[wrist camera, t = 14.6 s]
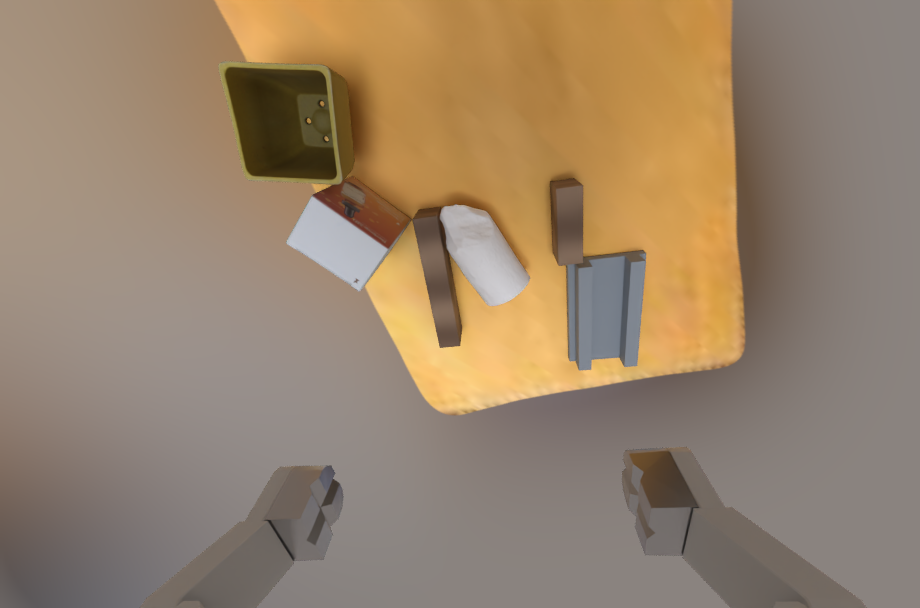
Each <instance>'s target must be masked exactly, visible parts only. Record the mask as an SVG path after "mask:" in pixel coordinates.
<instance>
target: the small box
mask: <svg viewBox="0 0 920 608" xmlns="http://www.w3.org/2000/svg"><path fill="white" fill-rule="evenodd" d="M410 221H411V219H410V218H409V217H408V216H406V215H405V214H403V213H402V212H400V211H399V210H397V209H396V208H395V207H393V206H392V205H391V204H389V203H388V202H387V201H385V200H384V199H383V198H381V197H380V196H379V195H377V194H376V193H375V192H373V191H372V190H371V189H369V188H368V187H367V186H365V185H364V184H363V183H361V182H360V181H359V180H357V179H356V178H355V177H353V176H351V177H349V178H347V179H345V180H343V181H342V182H341V184H338V185H336V184H334V185H332V186H330V187H328V188H326V189H324V190H322V191H320V192H317V193H315V194H313V195H312V196H311V198H310V200H309V201H308V203H307V205H306V207H305V209H304V210H303V212H302V214H301V216H300V218H299V219H298V221H297V223H296V225H295V227H294V228H293V230H292V232H291V234H290V236H289V237H288V239H287V241H286V243H287V244H288V245H289V246H291V247H293V248H294V249H296V250H298V251H299V252H301V253H302V254H304V255H306V256H307V257H309V258H310V259H312V260H313V261H315V262H316V263H318V264H319V265H321V266H322V267H324V268H325V269H327V270H329V271H330V272H331V273H333V274H335V275H336V276H338V277H339V278H341V279H342V280H344V281H345V282H346V283H348V284H349V285H350V286H352V287H353V288H355V289H356V290H357V291H361V290H362V288H363V287H364V286H365V285H366V283H367V282H368V281H369V279H370V278H371V277H372V275H373V274H374V273H375V271H376V270H377V269H378V267H379V266H380V264H381V263H382V262H383V260H384V259H385V258H386V256H387V255H388V253H389V252H390V251H391V249H392V248H393V246H394V245H395V243H396V242H397V241H398V239H399V238H400V236H401V235H402V233H403V232H404V230H405V229H406V227H407V226H408V224H409V223H410Z"/></svg>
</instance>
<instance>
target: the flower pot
mask: <svg viewBox="0 0 920 608" xmlns="http://www.w3.org/2000/svg"><path fill="white" fill-rule="evenodd" d="M219 73H220V77H221V81H222V86H223V89H224V93H225V97H226V101H227V105H228V109H229V112H230V116H231V120H232V124H233V128H234V133H235V137H236V143H237V148H238V152H239V157H240V161H241V167H242V170H243V173H244V175H245V178H246V179H247V180H251V181H272V182H273V181H274V182H296V183H314V184H332V185H333V184H336V185H338V184H341V182H342V181H343V180H344V179H345V178H346V177H347V175H348V174H349V173H350V172H351V170H352V169H353V166H354V160H355V159H354V148H353V139H352V129H351V118H350V107H349V94H348V86H347V83H346V81H345V79H344V78H343V77H342V76H341V75H339V74H338V73H336V72H334V71H333V70H331V69H330V68H328V67H327V66H325V65H318V64H278V63H251V62H232V61H231V62H230V61H226V62H221V63H220V64H219ZM320 101H323V102H324V104H325V105H324V107H321V106H320V105H319V102H320ZM307 118H310V119H311V124H308V123H307V122H306V119H307ZM324 136H327V137H328V138H329V141H328V142H326V141H324Z"/></svg>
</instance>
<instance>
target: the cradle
mask: <svg viewBox="0 0 920 608" xmlns="http://www.w3.org/2000/svg"><path fill="white" fill-rule="evenodd" d="M645 266H646V253H645V252H644V251H643V250H642V251H633V252H625V253H616V254H607V255H599V256H590V257H583V263H579V264H570V265H566V273H567V319H568V357H569V360H570V361H576V363H577V366H578V369H579V370H591V360H593V359H605V358H617V357H619V358H620V360H621V361H622V363H623V365H624V367H630V366H637V361H638V349H639V337H640V325H641V313H642V301H643V289H644V278H645Z"/></svg>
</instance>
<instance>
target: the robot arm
mask: <svg viewBox="0 0 920 608" xmlns="http://www.w3.org/2000/svg"><path fill="white" fill-rule="evenodd" d="M623 461H624V464H625V467H626V468H625V469H624V470H623V471H622V486H623V492H624V496H625V500H626V503H627V506H628V509H629V510H630V511H631V512H632V513H633V514H634V515H635V516H636V523H635V529H636V531H637V534H638V537H639V540H640V543H641V545H642V548H643V551H644V554H645V555H670V556H671V555H672V556H673V555H674V556H683V559H684V560H685V561H686V562H687V563H688V564H689V565H690V566H691V567H692V568H693V569H694V570H695V571H696V572H697V573H698V574H699V575H700V576H701V578H703V580H704V581H706V583H707V584H708V585H709V586H710V587H711V588H712V589H713V590H714V591H715V592H716V593H717V594H718V595H719V596H720V597H721V598H722V599H723V600H724V601H725V603H726V604H727V605H728V606H729V607H730V608H867V607H866V606H865V605H864V603H863V602H862V601H861V600H860V599H859V598H857V597H856V596H855V595H853V594H852V593H851V592H849V591H848V590H846V589H845V588H844V587H842V586H841V585H839V584H838V583H837V582H835V581H834V580H832V579H831V578H830V577H828V576H827V575H826V574H824V573H823V572H821V571H820V570H819V569H817V568H816V567H814V566H813V565H812V564H810V563H809V562H807V561H806V560H805V559H803V558H802V557H801V556H799V555H798V554H796V553H795V552H793V551H792V550H791V549H789V548H788V547H786V546H785V545H784V544H782V543H781V542H780V541H778V540H777V539H775V538H774V537H773V536H771V535H770V534H769V533H767V532H766V531H764V530H763V529H762V528H760V527H759V526H758V525H756V524H755V523H753V522H752V521H751V520H749V519H748V518H746V517H745V516H744V515H742V514H741V513H739V512H738V511H736V510H735V509H734V508H732V507H725V506H724V504H723V502H722V501H721V499H720V498H719V496H718V494H717V493H716V491H715V489H714V488H713V486H712V484H711V483H710V481H709V479H708V478H707V476H706V474H705V473H704V471H703V469H702V468H701V466H700V464H699V463H698V461H697V460H696V458H695V456H694V455H693V453H692V451H691V450H690V449H689V448H687V447H676V448H650V449H636V450H625V451H624V453H623ZM334 475H335V472H334V470H333V468H332V466H291V467H290V466H289V467H279V468H278V469H277V470H276V471H275V472H274V473H273V475H272V477H271V478H270V480H269V481H268V483H267V485H266V487H265V488H264V490H263V492H262V493H261V495H260V497H259V498H258V500H257V502H256V504H255V505H254V507H253V508H252V510H251V512H250V513H249V515H248V517H247V519H246V520H245V521H243V522H239V523H238V524H236V525H235V526H234V527H233V528H232V529H231V530H229V531H228V532H227V533H226V534H224V535H223V536H222V537H221V538H219V539H218V540H217V541H216V542H215V543H213V544H212V545H211V546H210V547H208V548H207V549H206V550H205V551H204V552H202V553H201V554H200V555H199V556H198V557H196V558H195V559H194V560H193V561H191V562H190V563H189V564H188V565H187V566H186V567H184V568H183V569H182V570H181V571H179V572H178V573H177V574H176V575H174V576H173V577H172V578H171V579H169V580H168V581H167V582H166V583H165V584H163V585H162V586H161V587H160V588H159V589H157V590H156V591H155V592H154V593H152V594H151V595H150V596H149V597H148V598H146V600H145V601H144V602H143V604H142V605H141V607H140V608H256V607H257V606H258V605H259V604H260V603H261V601H262V600H263V599H264V598H265V597H266V596H267V595H268V593H269V592H270V591H271V590H272V588H273V587H274V586H275V585H276V584H277V582H279V580H280V579H281V578H282V577H283V576H284V575H285V573H286V572H287V571H288V570H289V569H290V567H291V566H292V565H293V564H294V561H306V560H323V559H324V557H325V554H326V551H327V549H328V546H329V543H330V541H331V538H332V535H333V534H332V530H331V527H330V526H332V525H333V523H335V522H336V520H337V519H338V518H339V516H340V513H341V510H342V504H343V490H342V487H341V485H340V483H339V482H337V481H335V480H334V479H333V477H334Z"/></svg>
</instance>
